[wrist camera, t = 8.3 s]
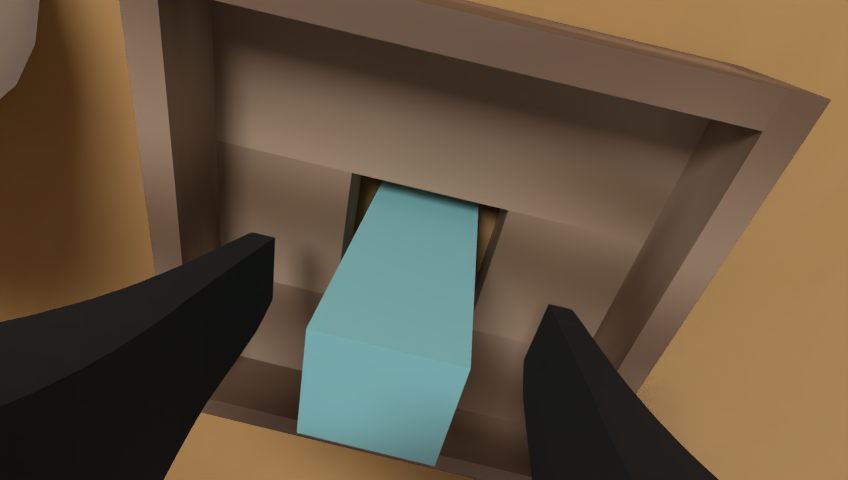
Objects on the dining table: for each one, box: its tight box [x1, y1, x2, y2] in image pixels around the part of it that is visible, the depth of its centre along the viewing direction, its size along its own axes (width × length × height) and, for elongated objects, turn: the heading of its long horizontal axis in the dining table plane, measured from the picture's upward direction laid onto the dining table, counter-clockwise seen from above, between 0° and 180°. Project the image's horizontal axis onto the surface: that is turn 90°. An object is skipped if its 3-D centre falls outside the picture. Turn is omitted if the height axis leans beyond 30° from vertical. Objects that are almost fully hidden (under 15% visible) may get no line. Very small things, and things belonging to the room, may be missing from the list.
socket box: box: [119, 0, 831, 480], centre depth 13 cm, size 14×14×4 cm
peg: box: [297, 180, 479, 466], centre depth 12 cm, size 3×3×7 cm
